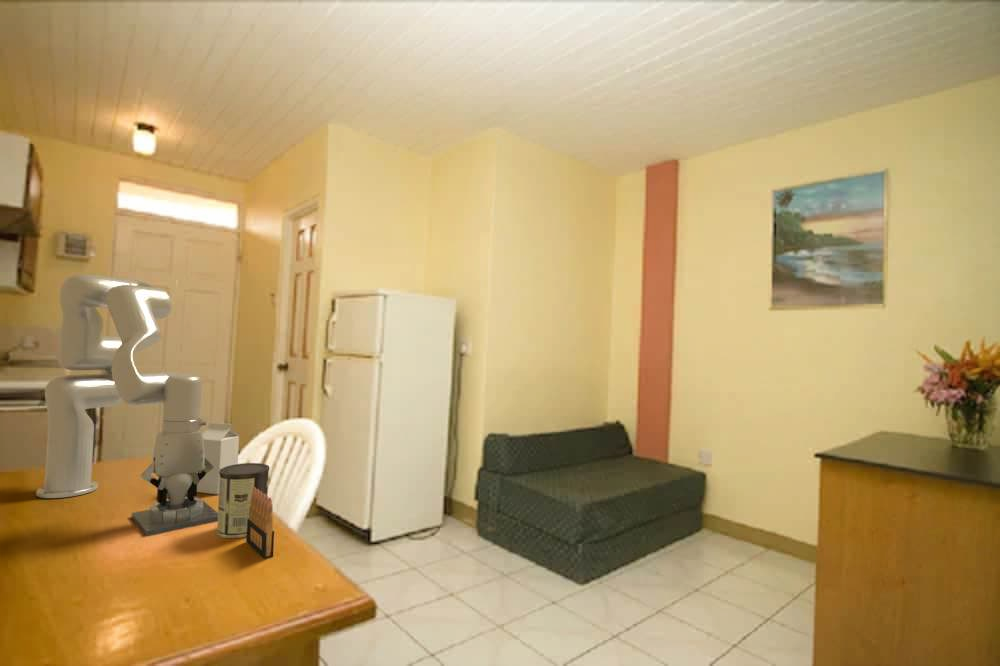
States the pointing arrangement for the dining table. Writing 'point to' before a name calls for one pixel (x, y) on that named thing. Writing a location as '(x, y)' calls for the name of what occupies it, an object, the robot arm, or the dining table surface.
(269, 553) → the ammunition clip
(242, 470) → the coffee can
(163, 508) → the ring collar
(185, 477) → the lightbulb
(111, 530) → the dining table surface
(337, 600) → the dining table surface
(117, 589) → the dining table surface
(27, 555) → the dining table surface
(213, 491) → the milk carton
